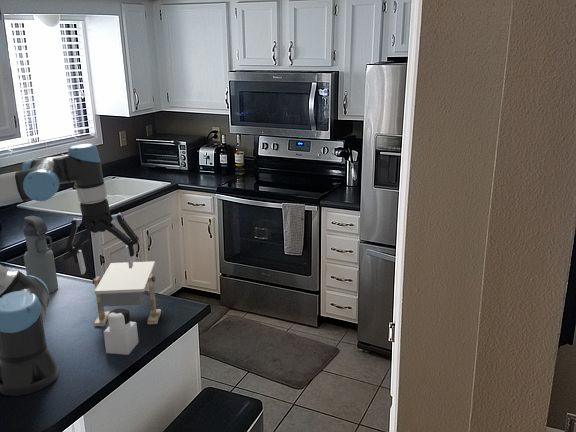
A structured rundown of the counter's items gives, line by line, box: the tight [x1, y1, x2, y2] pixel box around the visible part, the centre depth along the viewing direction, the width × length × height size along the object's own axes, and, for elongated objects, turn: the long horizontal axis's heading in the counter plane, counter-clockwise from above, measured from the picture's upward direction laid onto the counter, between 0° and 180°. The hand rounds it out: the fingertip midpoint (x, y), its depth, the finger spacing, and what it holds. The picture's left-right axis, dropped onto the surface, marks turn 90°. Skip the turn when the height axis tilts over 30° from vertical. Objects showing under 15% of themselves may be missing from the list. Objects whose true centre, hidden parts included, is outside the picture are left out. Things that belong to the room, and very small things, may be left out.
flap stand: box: [91, 273, 162, 327], centre depth 177 cm, size 8×20×15 cm, turn 94°
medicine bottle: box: [103, 308, 139, 356], centre depth 160 cm, size 7×7×12 cm
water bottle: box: [22, 215, 59, 294], centre depth 198 cm, size 10×10×28 cm
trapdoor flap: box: [94, 260, 156, 307], centre depth 179 cm, size 21×15×5 cm
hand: (107, 269), depth 159 cm, fingers open, 13 cm apart
